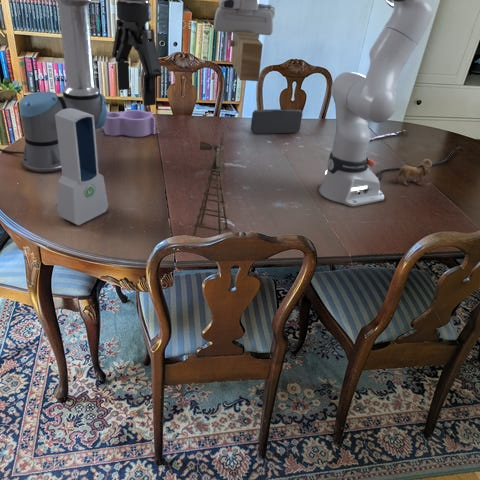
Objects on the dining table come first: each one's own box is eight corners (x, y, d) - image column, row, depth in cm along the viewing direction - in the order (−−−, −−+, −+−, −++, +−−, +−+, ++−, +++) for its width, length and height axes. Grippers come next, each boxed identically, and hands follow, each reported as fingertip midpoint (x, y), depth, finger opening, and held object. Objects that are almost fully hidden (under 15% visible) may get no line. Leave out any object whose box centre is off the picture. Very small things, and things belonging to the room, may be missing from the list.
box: (258, 81, 147) (262, 44, 141) (239, 80, 146) (243, 43, 140) (247, 62, 168) (250, 29, 162) (231, 61, 167) (233, 28, 162)
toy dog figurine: (420, 178, 179) (427, 156, 174) (429, 184, 174) (437, 162, 170) (388, 181, 174) (395, 158, 169) (397, 187, 170) (404, 164, 165)
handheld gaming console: (297, 130, 211) (300, 108, 206) (299, 132, 209) (303, 110, 204) (249, 131, 204) (252, 109, 199) (252, 134, 202) (254, 111, 197)
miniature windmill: (221, 244, 128) (229, 139, 111) (191, 238, 129) (195, 134, 112) (228, 227, 135) (237, 127, 119) (200, 222, 136) (205, 122, 120)
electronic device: (75, 227, 128) (63, 121, 112) (57, 218, 131) (42, 113, 115) (109, 210, 137) (102, 110, 121) (90, 202, 140) (81, 103, 124)
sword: (403, 130, 224) (403, 128, 224) (408, 133, 222) (409, 130, 222) (360, 142, 209) (360, 139, 208) (365, 144, 207) (365, 142, 206)
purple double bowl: (105, 137, 184) (104, 120, 180) (103, 126, 193) (101, 110, 190) (156, 136, 190) (156, 119, 186) (151, 125, 200) (151, 109, 196)
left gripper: (178, 10, 97) (176, 110, 109) (124, -7, 113) (127, 82, 125) (145, 9, 93) (147, 114, 105) (94, -8, 109) (100, 84, 121)
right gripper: (274, 4, 159) (269, 47, 166) (214, -1, 156) (212, 43, 163) (277, 6, 154) (272, 51, 161) (216, 1, 150) (213, 46, 158)
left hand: (136, 97), depth 115 cm, fingers open, 13 cm apart
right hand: (241, 47), depth 162 cm, fingers closed on box, 6 cm apart
